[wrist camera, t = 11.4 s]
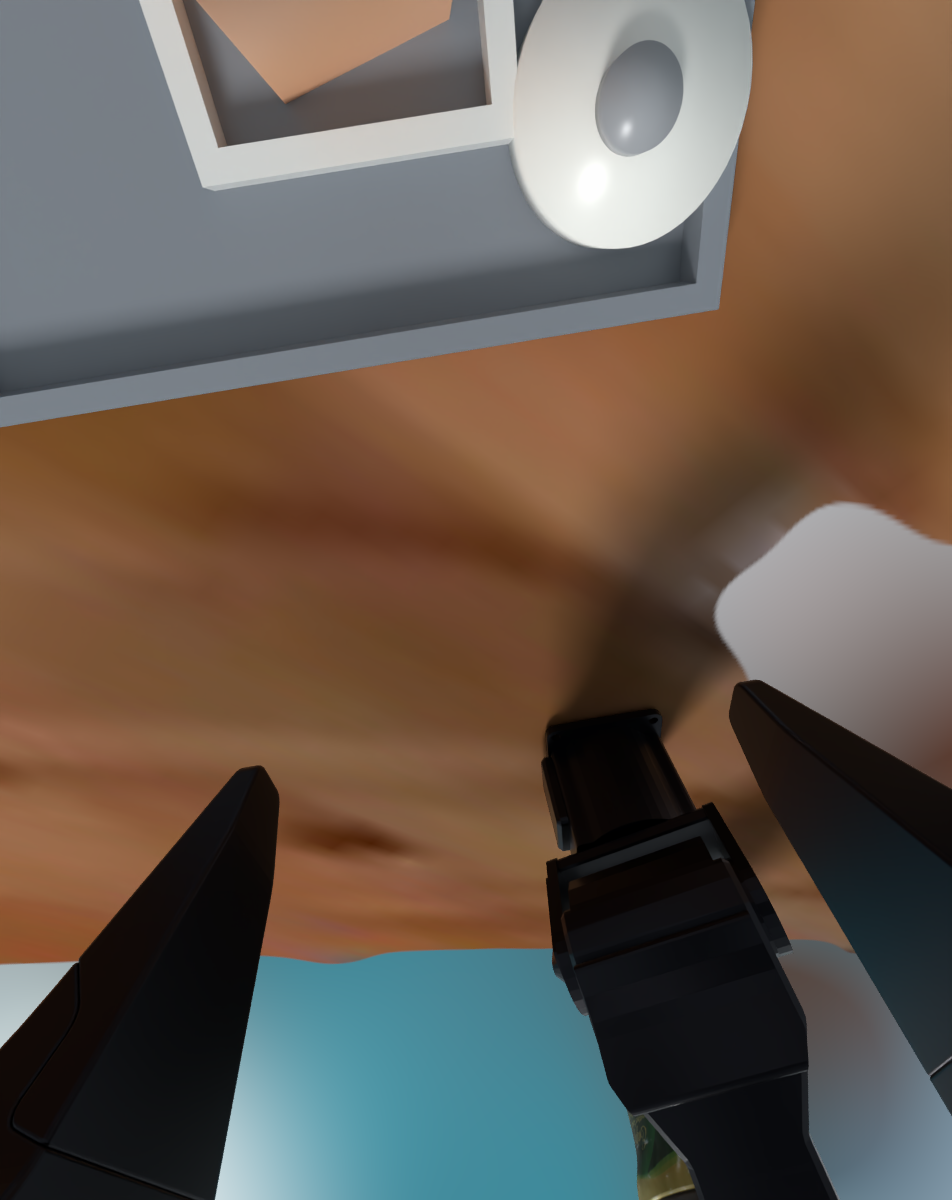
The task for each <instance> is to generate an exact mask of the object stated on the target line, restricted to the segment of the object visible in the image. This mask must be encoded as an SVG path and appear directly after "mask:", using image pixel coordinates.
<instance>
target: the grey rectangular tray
mask: <svg viewBox="0 0 952 1200" xmlns="http://www.w3.org/2000/svg"><path fill="white" fill-rule="evenodd" d="M754 4H755V0H452V5H451V11H450V17H449V20H447V21H445V22H443V23H441V24H439V25H437V26H435V27H433V28H431V29H429V30H428V31H426V32H424V33H422V34H420V35H418V36H416V37H414V38H412V39H410V40H408V41H406V42H404V43H402V44H401V45H399V46H397V47H395V48H393V49H391V50H389V51H387V52H385V53H383V54H381V55H379V56H377V57H375V58H373V59H372V60H370V61H368V62H366V63H364V64H362V65H360V66H358V67H356V68H354V69H352V70H350V71H348V72H346V73H345V74H343V75H341V76H339V77H337V78H335V79H333V80H331V81H329V82H327V83H325V84H323V85H321V86H319V87H318V88H316V89H314V90H312V91H310V92H308V93H306V94H304V95H302V96H300V97H298V98H296V99H294V100H292V101H290V102H289V103H287V104H285V103H284V102H283V101H282V100H281V98H280V97H279V96H278V95H277V94H276V93H275V92H274V90H273V89H272V88H271V87H270V86H269V85H268V83H267V82H266V81H265V80H264V79H263V78H262V76H261V75H260V74H259V73H258V72H257V71H256V69H255V68H254V67H253V66H252V65H251V64H250V62H249V61H248V60H247V59H246V58H245V57H244V56H243V54H242V53H241V52H240V51H239V50H238V49H237V47H236V46H235V45H234V44H233V43H232V42H231V40H230V39H229V38H228V37H227V36H226V35H225V33H224V32H223V31H222V30H221V29H220V28H219V26H218V25H217V24H216V23H215V22H214V21H213V20H212V18H211V17H210V16H209V15H208V14H207V13H206V11H205V10H204V9H203V8H202V7H201V6H200V4H199V3H198V2H197V1H196V0H0V427H5V426H11V425H17V424H23V423H29V422H35V421H41V420H47V419H53V418H59V417H65V416H72V415H78V414H84V413H90V412H96V411H102V410H108V409H114V408H120V407H126V406H132V405H139V404H145V403H151V402H157V401H163V400H169V399H175V398H181V397H187V396H193V395H199V394H206V393H212V392H218V391H224V390H230V389H236V388H242V387H248V386H254V385H260V384H266V383H273V382H279V381H285V380H291V379H297V378H303V377H309V376H315V375H321V374H327V373H333V372H340V371H346V370H352V369H358V368H364V367H370V366H376V365H382V364H388V363H394V362H400V361H407V360H413V359H419V358H425V357H431V356H437V355H443V354H449V353H455V352H461V351H467V350H473V349H480V348H486V347H492V346H498V345H504V344H510V343H516V342H522V341H528V340H534V339H540V338H547V337H553V336H559V335H565V334H571V333H577V332H583V331H589V330H595V329H601V328H607V327H614V326H620V325H626V324H632V323H638V322H644V321H650V320H656V319H662V318H668V317H674V316H681V315H687V314H693V313H699V312H705V311H711V310H717V309H719V303H720V294H721V286H722V277H723V269H724V260H725V252H726V243H727V234H728V226H729V217H730V209H731V200H732V192H733V183H734V175H735V166H736V158H737V149H738V141H739V135H740V132H741V129H742V126H743V122H744V118H745V114H746V110H747V106H748V100H749V94H750V88H751V78H752V38H751V30H752V21H753V13H754Z"/></svg>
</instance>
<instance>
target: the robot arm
mask: <svg viewBox="0 0 952 1200" xmlns="http://www.w3.org/2000/svg"><path fill="white" fill-rule="evenodd" d="M729 719H730V723H731V725H732V728H733V730H734V732H735V734H736V737H737V739H738V741H739V743H740V745H741V748H742V750H743V752H744V754H745V756H746V759H747V761H748V763H749V765H750V767H751V770H752V772H753V774H754V776H755V778H756V781H757V783H758V785H759V787H760V789H761V791H762V793H763V795H764V797H765V799H766V801H767V803H768V805H769V806H770V808H771V810H772V812H773V813H774V815H775V817H776V818H777V820H778V822H779V824H780V825H781V827H782V829H783V830H784V832H785V834H786V835H787V837H788V839H789V840H790V842H791V844H792V846H793V847H794V849H795V851H796V852H797V854H798V856H799V857H800V859H801V861H802V862H803V864H804V866H805V868H806V869H807V871H808V873H809V874H810V876H811V878H812V879H813V881H814V883H815V885H816V886H817V888H818V890H819V891H820V893H821V895H822V896H823V898H824V900H825V901H826V903H827V905H828V907H829V908H830V910H831V912H832V913H833V915H834V917H835V918H836V920H837V922H838V923H839V925H840V927H841V929H842V930H843V932H844V934H845V935H846V937H847V939H848V940H849V942H850V944H851V945H852V947H853V949H854V951H855V952H856V954H857V956H858V957H859V959H860V961H861V962H862V964H863V966H864V967H865V969H866V971H867V973H868V974H869V976H870V978H871V979H872V981H873V983H874V984H875V986H876V988H877V989H878V991H879V993H880V995H881V996H882V998H883V1000H884V1001H885V1003H886V1005H887V1006H888V1008H889V1010H890V1011H891V1013H892V1015H893V1017H894V1018H895V1020H896V1022H897V1023H898V1025H899V1027H900V1028H901V1030H902V1032H903V1034H904V1035H905V1037H906V1039H907V1040H908V1042H909V1044H910V1045H911V1047H912V1049H913V1050H914V1052H915V1054H916V1055H917V1057H918V1059H919V1061H920V1062H921V1064H922V1066H923V1067H924V1069H925V1071H926V1072H927V1074H928V1075H930V1076H931V1077H930V1080H931V1082H932V1083H933V1085H934V1087H935V1088H936V1090H937V1092H938V1093H939V1095H940V1097H941V1099H942V1100H943V1102H944V1104H945V1105H946V1107H947V1109H948V1110H949V1112H950V1114H951V1115H952V789H951V788H949V787H947V786H945V785H944V784H942V783H940V782H938V781H937V780H935V779H933V778H931V777H930V776H928V775H926V774H924V773H923V772H921V771H919V770H918V769H916V768H914V767H912V766H910V765H909V764H907V763H905V762H903V761H902V760H900V759H898V758H896V757H895V756H893V755H891V754H889V753H888V752H886V751H884V750H882V749H881V748H879V747H877V746H875V745H873V744H872V743H870V742H868V741H867V740H865V739H863V738H861V737H859V736H858V735H856V734H854V733H852V732H851V731H849V730H847V729H845V728H844V727H842V726H840V725H838V724H837V723H835V722H833V721H831V720H830V719H828V718H826V717H824V716H823V715H821V714H819V713H817V712H816V711H814V710H812V709H810V708H809V707H807V706H805V705H803V704H802V703H800V702H798V701H796V700H795V699H793V698H791V697H789V696H788V695H786V694H784V693H782V692H781V691H779V690H777V689H775V688H773V687H772V686H770V685H768V684H766V683H765V682H763V681H760V680H750V681H744V682H739V683H737V684H736V685H735V687H734V691H733V695H732V700H731V705H730V710H729ZM661 727H662V716H661V714H660V712H659V711H658V710H656V709H649V710H643V711H638V712H632V713H626V714H620V715H615V716H609V717H603V718H597V719H591V720H586V721H580V722H574V723H568V724H562V725H557V726H552V727H550V728H548V729H547V730H546V733H545V735H546V747H547V757H546V758H543V760H542V762H541V767H542V777H543V787H544V792H545V796H546V800H547V804H548V808H549V812H550V816H551V820H552V824H553V828H554V832H555V836H556V840H557V844H558V848H560V849H561V850H562V851H566V850H570V851H571V855H569V856H567V857H564V858H561V859H558V860H557V858H555V859H553V860H550V861H547V862H546V865H547V875H548V878H546V884H547V895H548V905H549V915H550V925H551V935H552V945H553V956H552V965H553V970H554V973H555V975H556V976H557V977H558V978H559V979H561V980H562V981H563V982H565V983H566V986H567V988H568V991H569V993H570V995H571V997H572V999H573V1001H574V1003H575V1005H576V1007H577V1008H578V1010H579V1011H580V1013H581V1014H582V1015H585V1016H586V1015H589V1018H590V1021H591V1024H592V1027H593V1030H594V1033H595V1036H596V1039H597V1042H598V1045H599V1049H600V1053H601V1057H602V1060H603V1064H604V1068H605V1072H606V1076H607V1079H608V1082H609V1084H610V1086H611V1088H612V1089H613V1090H614V1092H615V1093H616V1095H617V1096H618V1098H619V1099H620V1100H621V1102H622V1103H623V1105H624V1106H625V1107H626V1109H627V1110H628V1111H629V1113H630V1114H631V1115H633V1116H638V1115H642V1114H643V1115H644V1116H645V1117H646V1118H647V1119H648V1121H649V1122H650V1123H651V1124H652V1125H653V1126H654V1128H655V1129H656V1130H657V1131H658V1132H659V1133H660V1135H661V1136H662V1137H663V1138H664V1139H665V1140H666V1142H667V1143H668V1144H669V1145H670V1146H671V1147H672V1149H673V1150H674V1151H675V1152H676V1153H677V1154H678V1156H679V1157H680V1158H681V1159H682V1160H683V1162H684V1163H685V1164H686V1166H687V1168H688V1170H689V1173H690V1176H691V1178H692V1181H693V1184H694V1187H695V1190H696V1192H697V1195H698V1198H699V1200H840V1199H839V1197H838V1195H837V1192H836V1190H835V1188H834V1186H833V1183H832V1181H831V1179H830V1177H829V1175H828V1172H827V1170H826V1168H825V1166H824V1164H823V1162H822V1159H821V1157H820V1155H819V1153H818V1151H817V1149H816V1146H815V1144H814V1142H813V1140H812V1137H811V1135H810V1133H809V1115H808V1066H809V1065H808V1049H807V1026H806V1025H807V1024H806V1017H805V1014H804V1011H803V1009H802V1007H801V1005H800V1003H799V1001H798V999H797V997H796V994H795V993H794V990H793V988H792V986H791V984H790V982H789V980H788V978H787V976H786V974H785V972H784V970H783V969H782V966H781V964H780V962H779V960H778V957H781V956H784V955H787V954H791V953H793V949H792V947H791V944H790V942H789V940H788V937H787V935H786V933H785V931H784V929H783V926H782V924H781V922H780V920H779V918H778V916H777V914H776V912H775V910H774V908H773V906H772V904H771V902H770V900H769V899H768V897H767V895H766V893H765V891H764V889H763V887H762V885H761V884H760V882H759V880H758V878H757V876H756V875H755V873H754V871H753V869H752V868H751V866H750V864H749V863H748V861H747V859H746V858H745V856H744V854H743V853H742V851H741V849H740V847H739V846H738V844H737V842H736V841H735V839H734V837H733V836H732V834H731V832H730V831H729V829H728V827H727V826H726V824H725V822H724V821H723V819H722V817H721V815H720V814H719V812H718V810H717V809H716V807H715V805H714V804H713V802H710V803H707V804H705V805H702V808H700V809H697V810H696V808H695V806H694V804H693V802H692V800H691V798H690V796H689V794H688V792H687V790H686V788H685V786H684V784H683V782H682V780H681V778H680V776H679V774H678V773H677V771H676V769H675V767H674V765H673V763H672V761H671V759H670V757H669V755H668V753H667V751H666V749H665V747H664V745H663V743H662V741H661V739H660V737H661ZM555 734H556V735H555ZM278 816H279V794H278V791H277V789H276V787H275V785H274V784H273V782H272V780H271V778H270V777H269V775H268V773H267V772H266V770H265V769H264V767H262V766H259V765H257V766H252V767H246V768H241V769H239V770H238V771H237V772H236V773H235V774H234V775H233V776H232V777H231V778H230V780H229V781H228V782H227V783H226V784H225V786H224V787H223V788H222V789H221V790H220V791H219V793H218V794H217V795H216V796H215V797H214V799H213V800H212V801H211V802H210V803H209V805H208V806H207V807H206V808H205V809H204V810H203V812H202V813H201V814H200V815H199V816H198V818H197V819H196V820H195V821H194V822H193V824H192V825H191V826H190V827H189V828H188V829H187V831H186V832H185V833H184V834H183V835H182V837H181V838H180V839H179V840H178V841H177V843H176V844H175V845H174V846H173V847H172V848H171V850H170V851H169V852H168V853H167V854H166V856H165V857H164V858H163V859H162V860H161V862H160V863H159V864H158V865H157V866H156V867H155V869H154V870H153V871H152V872H151V873H150V875H149V876H148V877H147V878H146V879H145V881H144V882H143V883H142V884H141V885H140V886H139V888H138V889H137V890H136V891H135V892H134V894H133V895H132V896H131V897H130V898H129V900H128V901H127V902H126V903H125V904H124V905H123V907H122V908H121V909H120V910H119V911H118V913H117V914H116V915H115V916H114V917H113V919H112V920H111V921H110V922H109V923H108V924H107V926H106V927H105V928H104V929H103V930H102V932H101V933H100V934H99V935H98V936H97V938H96V939H95V940H94V941H93V942H92V943H91V945H90V946H89V947H88V948H87V949H86V951H85V952H84V953H83V954H82V955H81V957H80V958H79V963H75V964H74V965H73V966H72V967H71V968H70V970H69V971H68V972H67V973H66V974H65V975H64V977H63V978H62V979H61V980H60V981H59V982H58V984H57V985H56V986H55V987H54V988H53V990H52V991H51V992H50V993H49V994H48V995H47V996H46V998H45V999H44V1000H43V1001H42V1002H41V1004H39V1006H38V1007H37V1008H36V1009H35V1010H34V1012H33V1013H32V1014H31V1015H30V1016H29V1017H28V1018H27V1019H26V1021H25V1022H24V1023H23V1024H22V1025H21V1026H20V1028H19V1029H18V1030H17V1031H16V1032H15V1033H14V1034H13V1035H12V1036H11V1037H10V1038H9V1040H8V1041H7V1042H6V1043H5V1044H4V1045H3V1046H2V1047H1V1048H0V1200H215V1196H216V1189H217V1185H218V1180H219V1174H220V1169H221V1163H222V1158H223V1153H224V1147H225V1142H226V1136H227V1131H228V1126H229V1119H230V1115H231V1109H232V1104H233V1099H234V1093H235V1088H236V1083H237V1077H238V1072H239V1066H240V1061H241V1056H242V1049H243V1045H244V1039H245V1034H246V1029H247V1023H248V1018H249V1013H250V1007H251V1002H252V996H253V991H254V986H255V980H256V975H257V970H258V964H259V959H260V953H261V948H262V943H263V937H264V932H265V927H266V921H267V916H268V910H269V905H270V900H271V894H272V887H273V879H274V869H275V856H276V843H277V829H278Z"/></svg>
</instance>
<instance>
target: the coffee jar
mask: <svg viewBox="0 0 952 1200" xmlns="http://www.w3.org/2000/svg"><path fill="white" fill-rule="evenodd" d="M627 1111H628V1110H627ZM628 1116H629V1119H630V1124H631V1128H632V1132H633V1137H634V1141H635V1147H636V1153H637V1188H638V1196H639V1200H699V1198H698V1195H697V1192H696V1190H695V1187H694V1184H693V1181H692V1178H691V1176H690V1173H689V1170H688V1168H687V1166H686V1164H685V1163H684V1162H683V1160H682V1159H681V1158H680V1157H679V1156H678V1154H677V1153H676V1152H675V1151H674V1150H673V1149H672V1147H671V1146H670V1145H669V1144H668V1143H667V1142H666V1140H665V1139H664V1138H663V1137H662V1136H661V1135H660V1133H659V1132H658V1131H657V1130H656V1129H655V1128H654V1126H653V1125H652V1124H651V1123H650V1122H649V1121H648V1119H647V1118H646V1117H645V1116H644V1115H643V1114H642V1115H638V1116H633V1115H631V1114H630V1113H629V1111H628Z"/></svg>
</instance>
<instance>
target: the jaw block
mask: <svg viewBox="0 0 952 1200" xmlns="http://www.w3.org/2000/svg"><path fill="white" fill-rule="evenodd" d="M196 1H197V2H198V3H199V4H200V6H201V7H202V8H203V9H204V10H205V11H206V13H207V14H208V15H209V16H210V17H211V18H212V20H213V21H214V22H215V23H216V24H217V25H218V26H219V28H220V29H221V30H222V31H223V32H224V33H225V35H226V36H227V37H228V38H229V39H230V40H231V42H232V43H233V44H234V45H235V46H236V47H237V49H238V50H239V51H240V52H241V53H242V54H243V56H244V57H245V58H246V59H247V60H248V61H249V62H250V64H251V65H252V66H253V67H254V68H255V69H256V71H257V72H258V73H259V74H260V75H261V76H262V78H263V79H264V80H265V81H266V82H267V83H268V85H269V86H270V87H271V88H272V89H273V90H274V92H275V93H276V94H277V95H278V96H279V97H280V98H281V100H282V101H283V102H284V103H285V104H287V103H289V102H290V101H292V100H294V99H296V98H298V97H300V96H302V95H304V94H306V93H308V92H310V91H312V90H314V89H316V88H318V87H319V86H321V85H323V84H325V83H327V82H329V81H331V80H333V79H335V78H337V77H339V76H341V75H343V74H345V73H346V72H348V71H350V70H352V69H354V68H356V67H358V66H360V65H362V64H364V63H366V62H368V61H370V60H372V59H373V58H375V57H377V56H379V55H381V54H383V53H385V52H387V51H389V50H391V49H393V48H395V47H397V46H399V45H401V44H402V43H404V42H406V41H408V40H410V39H412V38H414V37H416V36H418V35H420V34H422V33H424V32H426V31H428V30H429V29H431V28H433V27H435V26H437V25H439V24H441V23H443V22H445V21H447V20H449V17H450V11H451V5H452V0H196Z"/></svg>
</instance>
